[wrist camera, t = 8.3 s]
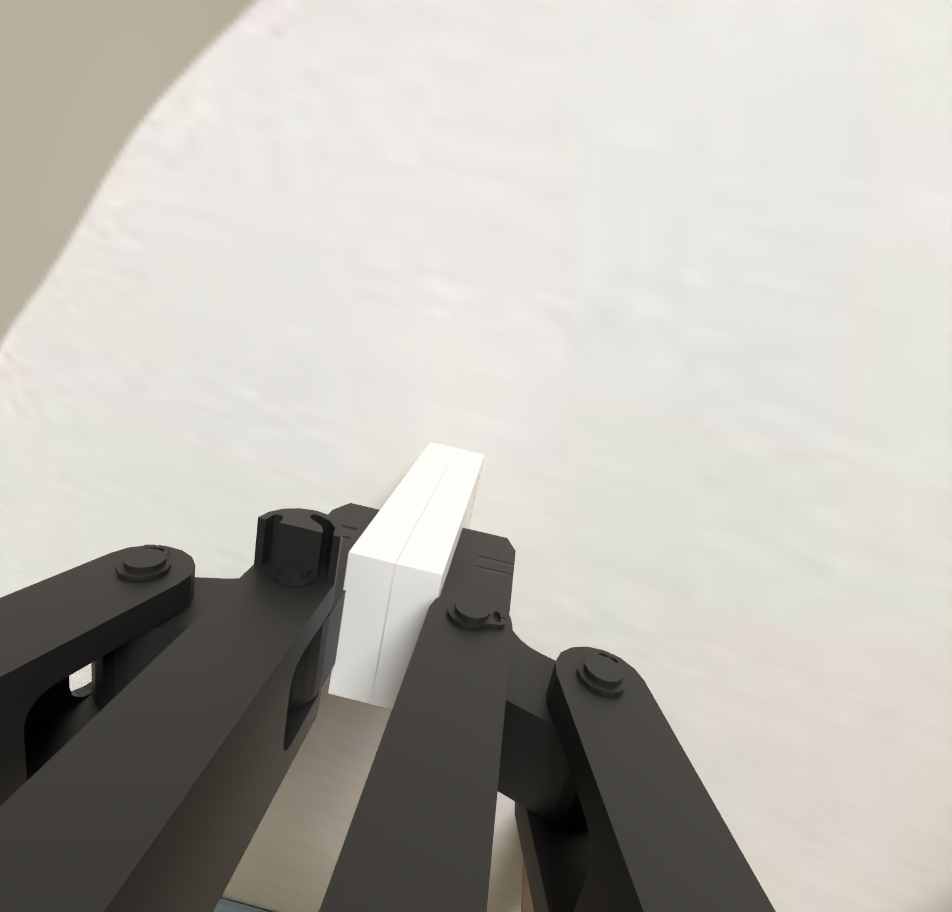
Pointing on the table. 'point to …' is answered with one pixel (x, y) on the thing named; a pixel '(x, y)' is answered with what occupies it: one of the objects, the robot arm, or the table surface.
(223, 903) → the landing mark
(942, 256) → the table surface
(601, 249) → the table surface
